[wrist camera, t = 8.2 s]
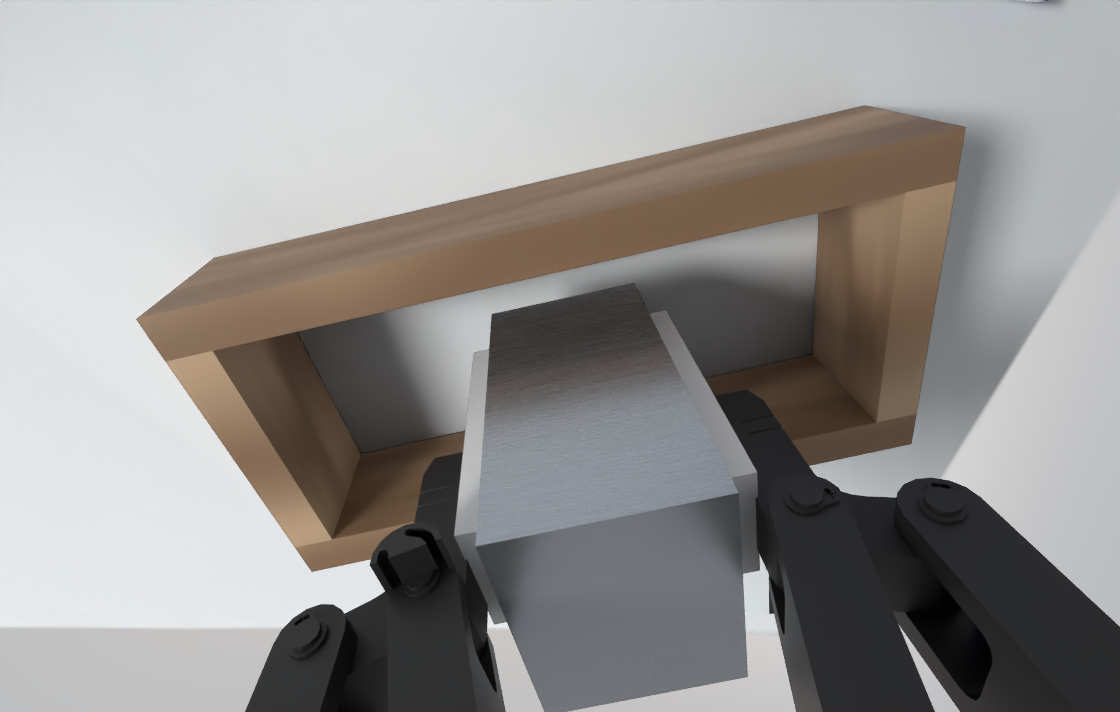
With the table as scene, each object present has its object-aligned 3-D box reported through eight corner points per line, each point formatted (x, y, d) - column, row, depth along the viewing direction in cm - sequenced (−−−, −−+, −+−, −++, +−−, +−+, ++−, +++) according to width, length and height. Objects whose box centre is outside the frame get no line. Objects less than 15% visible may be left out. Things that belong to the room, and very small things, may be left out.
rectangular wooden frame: (213, 258, 16) (136, 319, 13) (864, 105, 16) (965, 126, 12) (343, 483, 21) (311, 571, 18) (843, 374, 20) (911, 443, 17)
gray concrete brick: (491, 314, 15) (475, 546, 8) (634, 283, 15) (738, 492, 8) (532, 450, 18) (546, 715, 11) (654, 424, 18) (747, 677, 11)
